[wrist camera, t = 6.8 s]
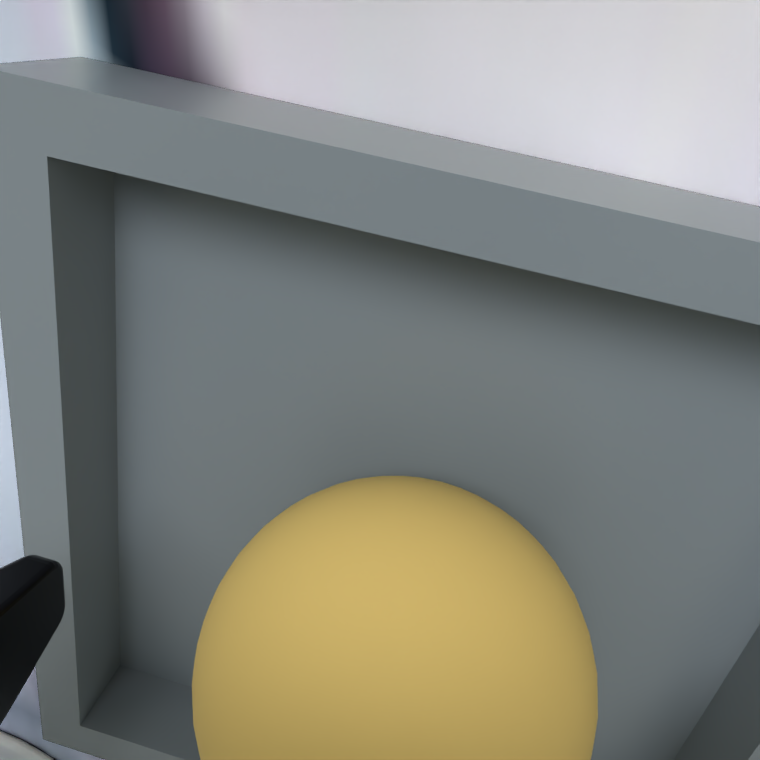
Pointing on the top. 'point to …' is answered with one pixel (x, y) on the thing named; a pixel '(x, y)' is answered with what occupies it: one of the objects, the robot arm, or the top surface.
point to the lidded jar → (19, 749)
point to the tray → (368, 383)
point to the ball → (394, 636)
